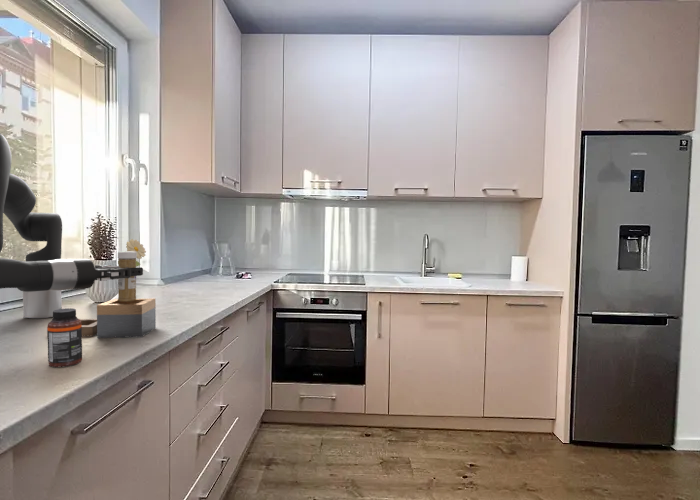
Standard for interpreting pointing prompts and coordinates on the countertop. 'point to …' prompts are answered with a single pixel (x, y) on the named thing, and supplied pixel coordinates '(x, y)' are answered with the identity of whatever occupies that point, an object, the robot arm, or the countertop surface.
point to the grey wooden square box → (126, 318)
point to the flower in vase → (136, 247)
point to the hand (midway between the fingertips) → (137, 270)
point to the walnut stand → (88, 327)
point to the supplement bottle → (64, 338)
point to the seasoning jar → (127, 284)
